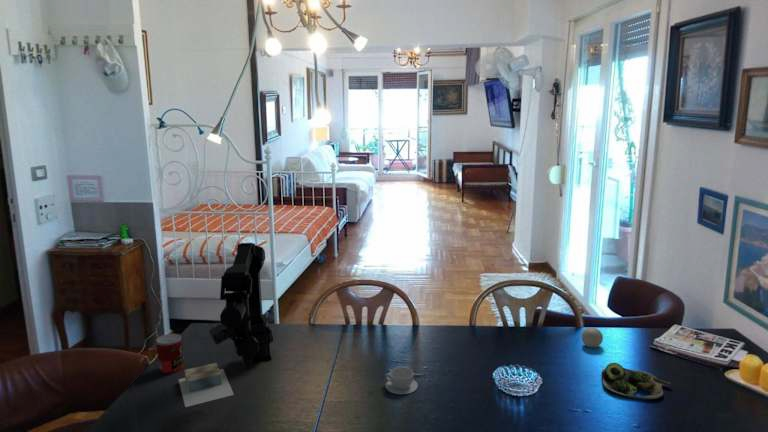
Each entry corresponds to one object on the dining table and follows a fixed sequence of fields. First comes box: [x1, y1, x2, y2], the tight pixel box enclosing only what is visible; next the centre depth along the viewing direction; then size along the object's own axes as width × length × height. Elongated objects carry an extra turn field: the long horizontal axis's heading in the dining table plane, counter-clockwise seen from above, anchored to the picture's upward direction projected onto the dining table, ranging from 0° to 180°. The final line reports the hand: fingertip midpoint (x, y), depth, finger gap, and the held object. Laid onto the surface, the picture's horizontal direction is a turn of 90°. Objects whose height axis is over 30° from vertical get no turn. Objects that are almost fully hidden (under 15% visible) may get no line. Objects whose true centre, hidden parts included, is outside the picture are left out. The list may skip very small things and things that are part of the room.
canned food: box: [155, 333, 185, 375], centre depth 182 cm, size 8×8×11 cm
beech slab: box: [184, 362, 222, 392], centre depth 173 cm, size 10×4×8 cm
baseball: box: [581, 327, 604, 349], centre depth 191 cm, size 7×7×7 cm
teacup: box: [384, 367, 419, 395], centre depth 168 cm, size 10×10×5 cm
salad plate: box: [600, 362, 672, 400], centre depth 166 cm, size 19×18×5 cm
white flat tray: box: [178, 368, 235, 408], centre depth 171 cm, size 14×18×1 cm
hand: (243, 362), depth 161 cm, fingers open, 9 cm apart
